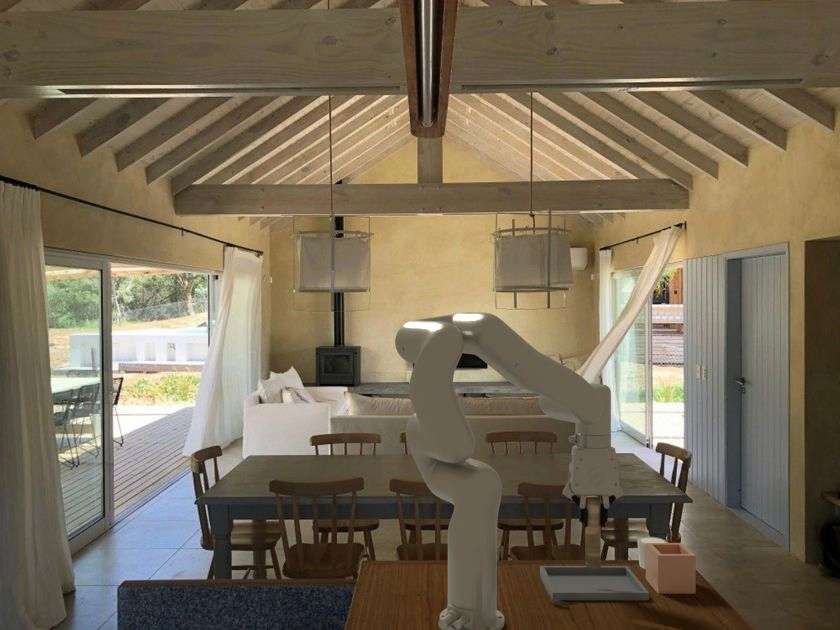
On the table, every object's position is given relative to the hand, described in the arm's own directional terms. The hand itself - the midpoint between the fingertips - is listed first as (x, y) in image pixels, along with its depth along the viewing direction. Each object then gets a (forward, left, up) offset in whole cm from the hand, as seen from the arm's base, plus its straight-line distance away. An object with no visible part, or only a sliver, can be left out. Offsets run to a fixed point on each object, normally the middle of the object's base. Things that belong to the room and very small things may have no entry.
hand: (593, 524), depth 153 cm
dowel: (0, 0, -9) cm, 9 cm away
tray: (0, 0, -14) cm, 14 cm away
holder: (+9, -14, -14) cm, 22 cm away
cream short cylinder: (+19, -8, -15) cm, 25 cm away
